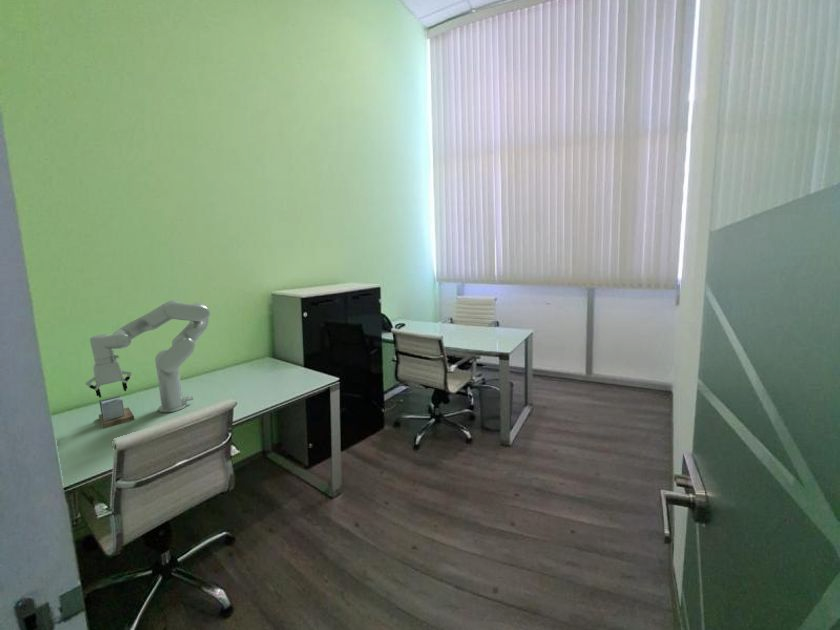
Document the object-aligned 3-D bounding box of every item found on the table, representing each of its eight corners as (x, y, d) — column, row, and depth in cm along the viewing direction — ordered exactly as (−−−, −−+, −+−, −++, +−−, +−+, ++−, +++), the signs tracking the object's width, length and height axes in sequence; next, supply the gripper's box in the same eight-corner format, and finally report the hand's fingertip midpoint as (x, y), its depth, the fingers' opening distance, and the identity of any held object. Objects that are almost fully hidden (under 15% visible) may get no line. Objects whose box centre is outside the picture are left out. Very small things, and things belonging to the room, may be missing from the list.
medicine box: (123, 412, 189) (120, 396, 187) (125, 415, 186) (122, 399, 184) (103, 418, 183) (100, 401, 181) (104, 421, 180) (101, 404, 178)
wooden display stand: (128, 410, 196) (126, 392, 194) (134, 419, 186) (131, 400, 184) (99, 418, 187) (95, 399, 185) (103, 428, 178) (99, 408, 176)
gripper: (126, 354, 188) (132, 386, 191) (80, 363, 176) (88, 397, 179) (129, 357, 183) (136, 389, 186) (82, 367, 170) (90, 401, 174)
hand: (112, 393), depth 183 cm, fingers open, 9 cm apart
